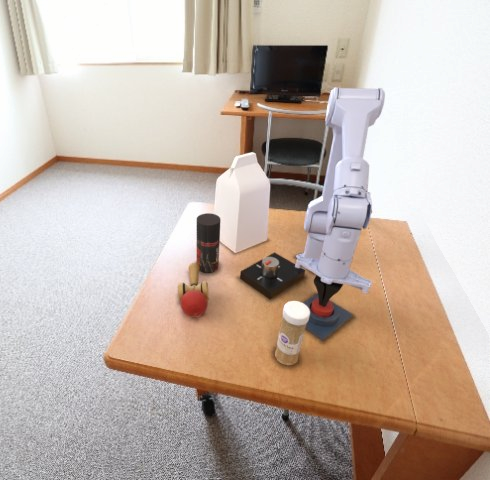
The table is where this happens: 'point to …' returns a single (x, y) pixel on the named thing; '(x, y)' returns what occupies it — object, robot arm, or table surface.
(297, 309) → the sprinkles bottle
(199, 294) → the kendama
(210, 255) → the deodorant
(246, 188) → the milk
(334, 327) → the button base
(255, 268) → the hob panel
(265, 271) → the dial
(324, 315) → the push knob
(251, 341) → the table surface
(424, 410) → the table surface
